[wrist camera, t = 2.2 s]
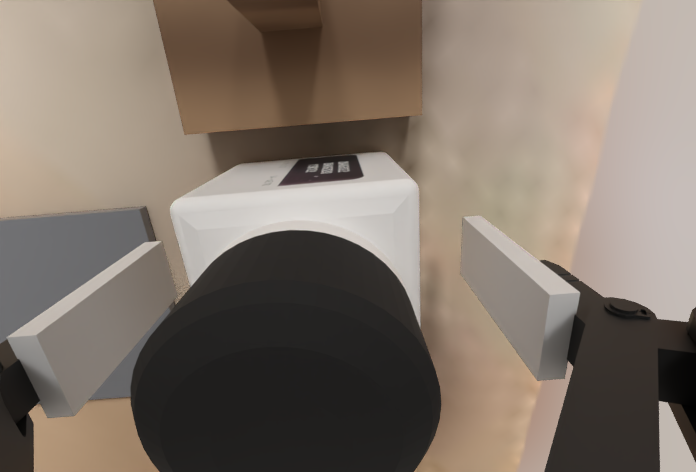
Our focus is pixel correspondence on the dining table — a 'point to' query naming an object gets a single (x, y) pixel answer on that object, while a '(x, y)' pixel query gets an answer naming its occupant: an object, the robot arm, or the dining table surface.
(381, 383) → the container
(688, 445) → the robot arm
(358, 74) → the pair of wooden stands
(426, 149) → the dining table surface
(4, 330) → the plate
